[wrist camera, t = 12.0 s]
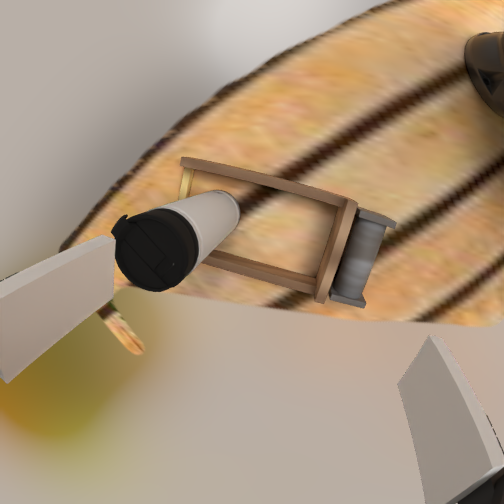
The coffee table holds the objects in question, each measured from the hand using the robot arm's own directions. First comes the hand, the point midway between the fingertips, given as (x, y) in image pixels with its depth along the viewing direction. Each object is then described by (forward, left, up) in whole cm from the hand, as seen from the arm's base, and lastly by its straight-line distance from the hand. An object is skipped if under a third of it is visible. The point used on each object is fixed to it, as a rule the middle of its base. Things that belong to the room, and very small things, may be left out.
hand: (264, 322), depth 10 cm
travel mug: (+3, -9, -28) cm, 30 cm away
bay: (+3, -1, -28) cm, 28 cm away
